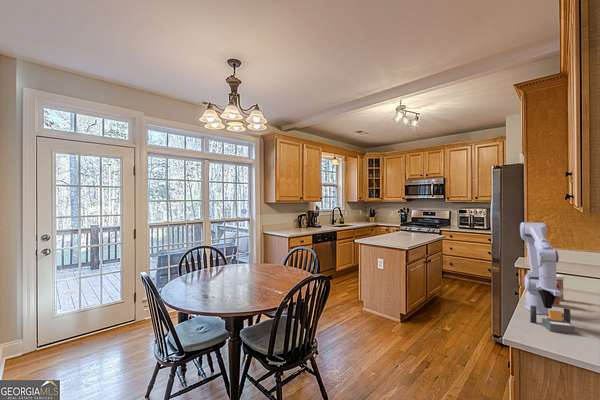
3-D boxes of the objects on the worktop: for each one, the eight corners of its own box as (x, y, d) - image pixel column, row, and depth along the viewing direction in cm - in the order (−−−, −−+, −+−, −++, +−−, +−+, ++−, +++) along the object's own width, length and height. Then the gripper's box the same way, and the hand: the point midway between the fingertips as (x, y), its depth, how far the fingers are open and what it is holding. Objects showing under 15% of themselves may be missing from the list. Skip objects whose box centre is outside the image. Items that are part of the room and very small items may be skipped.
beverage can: (542, 301, 147) (542, 279, 148) (558, 304, 143) (558, 281, 144) (543, 304, 142) (543, 281, 143) (560, 307, 138) (559, 283, 139)
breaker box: (542, 325, 118) (542, 315, 118) (565, 327, 115) (565, 318, 115) (550, 331, 112) (550, 321, 112) (574, 334, 110) (574, 324, 110)
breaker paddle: (549, 319, 116) (547, 310, 117) (561, 320, 115) (559, 311, 116) (551, 319, 115) (549, 310, 116) (562, 320, 114) (560, 311, 115)
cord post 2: (562, 324, 118) (562, 308, 118) (568, 325, 118) (568, 308, 118) (565, 326, 116) (565, 309, 117) (571, 327, 116) (571, 310, 116)
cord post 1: (529, 321, 122) (529, 305, 122) (534, 321, 121) (534, 305, 121) (531, 322, 120) (531, 306, 120) (537, 323, 119) (537, 307, 119)
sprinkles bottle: (566, 301, 148) (565, 276, 148) (556, 301, 148) (556, 276, 149) (559, 298, 152) (559, 274, 152) (550, 298, 153) (550, 274, 153)
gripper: (528, 272, 129) (528, 301, 128) (546, 280, 115) (546, 312, 114) (546, 273, 127) (546, 303, 126) (566, 281, 113) (567, 314, 112)
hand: (547, 307), depth 120 cm, fingers closed
